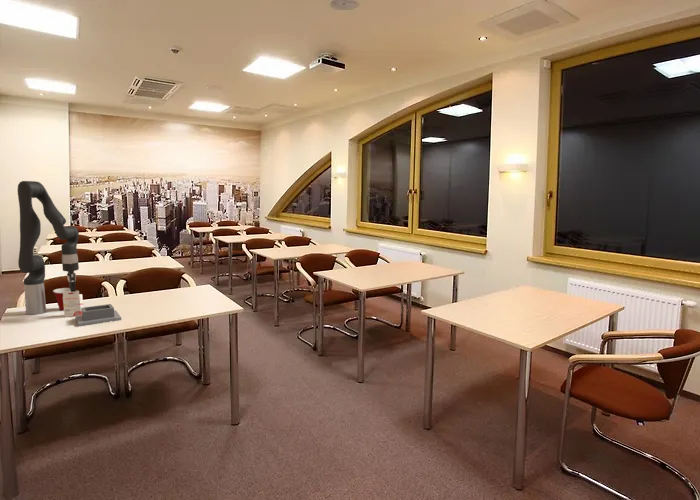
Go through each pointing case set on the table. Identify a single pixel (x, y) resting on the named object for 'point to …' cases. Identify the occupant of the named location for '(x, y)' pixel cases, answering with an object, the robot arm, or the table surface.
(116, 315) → the dock
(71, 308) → the ink cartridge box
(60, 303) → the plastic cup
